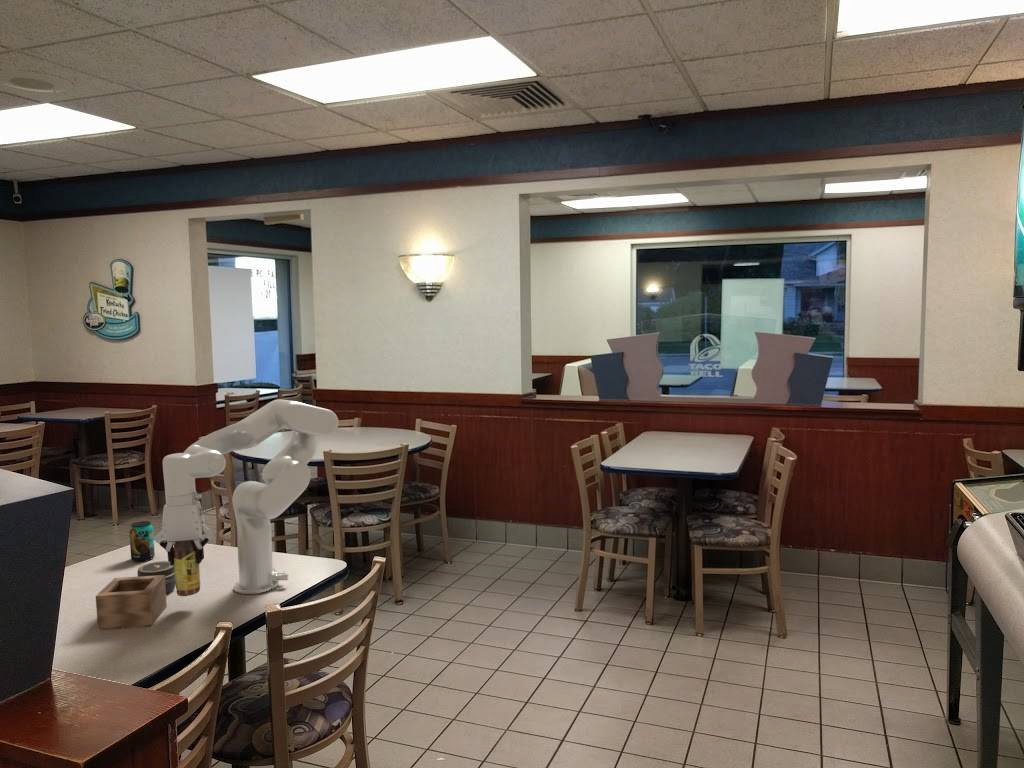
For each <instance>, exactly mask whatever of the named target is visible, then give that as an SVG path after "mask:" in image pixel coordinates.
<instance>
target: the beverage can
mask: <svg viewBox="0 0 1024 768" xmlns="http://www.w3.org/2000/svg"><path fill="white" fill-rule="evenodd" d="M130 526H131V527H130V528H129V530H128V532H129V547H130V548H129V549H130V559H131V560H132V561H133V562H135V561H144V562H147V561H146V560H148V561H150V560H149V559H151V558H152V559H153V558H155V555H156V554H155V541H154V537H155V536H154V526H153V525H152V523H151V521H148V520H147V521H146V520H145V521H144V520H143V521H136V522H133V523H132V524H131V525H130ZM152 559H151V560H152Z"/></svg>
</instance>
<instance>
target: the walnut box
mask: <svg viewBox="0 0 1024 768" xmlns="http://www.w3.org/2000/svg"><path fill="white" fill-rule="evenodd" d="M167 603H168V602H167V594H166V584H165V575H156V576H139V577H138V576H127V577H125V576H124V577H114V578H112V580H111V581H110V582H109V583H108V584H107V585H106V586H105V587H104V588H102V590H100V591H99V592H98V593H97V594H96V595H95V607H96V620H97V630H98V629H101V630H112V629H111V628H116V629H123V628H122V627H131V628H141V627H140V626H146V627H152V626H153V625H154V623H156V621H157V620H158V618H159V617H160V616H161V614H163V612H164V611H165V610H166V608H167V606H168V605H167ZM156 619H157V620H156ZM152 624H153V625H152Z"/></svg>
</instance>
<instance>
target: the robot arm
mask: <svg viewBox="0 0 1024 768" xmlns="http://www.w3.org/2000/svg"><path fill="white" fill-rule="evenodd" d="M338 427H339V418H338V416H337V415H336V413H335V412H334V411H332V410H331V409H327V408H323V407H320V406H315V405H311V404H307V403H303V402H300V401H296V400H291V399H290V400H288V399H281V398H278V399H274V400H272V401H269V402H267V403H266V404H265V405H263V406H261V407H260V408H259V409H257V410H256V411H254V412H252V413H251V414H249V415H248V416H246V417H245V418H243V419H241V420H240V421H238V422H236V423H233V424H230V425H228V426H225V427H223V428H220V429H218V430H216V431H213V432H211V433H209V434H207V435H205V436H203V437H202V438H200V439H198V440H196V441H195V442H194V443H191V445H189V446H188V447H187V448H186V449H185V450H184V451H183V452H176V453H171V454H168V455H166V456H164V457H163V459H162V473H163V482H164V494H165V504H164V505H163V510H162V511H163V512H162V523H161V525H162V528H161V530H160V531H159V532H158V533H157V534H156V535H155V536H154V542H156V543H157V544H158V545H159V546H160V547H161V548H162V549H164V550H165V552H166V553H167V561H168V562H170V566H173V565H174V543H175V542H176V541H190V540H193V541H194V542H195V544H196V546H197V549H196V559H197V563H198V564H199V565H200V564H201V563H202V562H203V560H204V558H205V550H204V547H205V546H206V544H208V542H209V541H211V539H212V538H213V537H214V536H215V532H214V531H213V530H212V529H210V528H209V527H208V526H207V525H206V522H205V516H204V512H203V508H202V504H201V501H199V499H202V497H203V496H202V493H198V492H197V490H196V479H199V478H201V479H202V478H211V477H216V476H218V475H220V474H221V473H222V472H223V471H224V470H225V468H226V465H227V461H226V458H225V455H226V454H229V453H231V452H236V451H241V450H242V451H243V450H247V449H251V448H254V447H257V446H259V445H260V444H261V443H263V442H264V441H266V440H267V439H269V438H271V437H272V436H273V435H275V434H276V433H278V432H279V431H280V430H283V429H286V430H292V437H291V439H290V441H289V442H288V443H287V444H286V445H285V446H284V447H283V448H282V449H281V450H280V451H279V452H278V453H277V454H276V455H275V456H274V457H272V458H271V460H269V461H268V462H267V463H266V464H265V466H264V467H263V469H262V472H261V476H262V477H261V478H262V480H263V481H264V482H263V483H262V482H259V481H253V480H248V481H244V482H241V483H240V484H239V485H237V487H236V488H235V489H234V491H233V494H232V507H233V512H234V517H235V522H236V539H237V541H236V542H237V561H238V563H237V565H238V581H236V582H235V583H234V585H233V591H234V592H236V593H239V594H242V595H256V594H257V595H258V594H262V592H263V593H267V592H269V590H270V591H272V590H274V589H276V588H277V587H278V586H279V585H280V584H279V583H280V581H288V580H289V573H286V571H280V572H278V571H276V567H274V566H273V543H272V523H271V520H273V519H276V518H278V517H279V516H280V515H281V514H283V512H285V511H287V509H288V508H289V507H290V506H291V505H292V504H294V502H295V501H296V500H297V499H298V498H299V497H300V496H301V495H302V494H303V493H304V491H305V490H306V489H307V488H308V486H309V484H310V481H311V476H312V473H311V469H310V467H309V465H308V464H309V462H311V461H312V459H313V458H314V455H315V453H316V450H317V437H322V438H327V437H330V436H332V435H334V434H335V433H336V431H337V429H338ZM205 534H206V536H205V538H204V539H203V538H201V537H202V536H203V535H205ZM271 589H272V590H271ZM266 591H267V592H266Z"/></svg>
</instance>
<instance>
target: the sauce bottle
mask: <svg viewBox="0 0 1024 768" xmlns="http://www.w3.org/2000/svg"><path fill="white" fill-rule="evenodd" d="M173 547H174V569H175V583H176V584H175V589H176V595H177V596H179V597H188V596H192V595H196V594H197V593H199V592H200V590H201V574H200V573H201V570H200V564H198V563H197V559H196V549H197V546H196V544H195V542H194V541H193V540H190V541H177V542H176V544H175V546H174V545H173Z"/></svg>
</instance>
